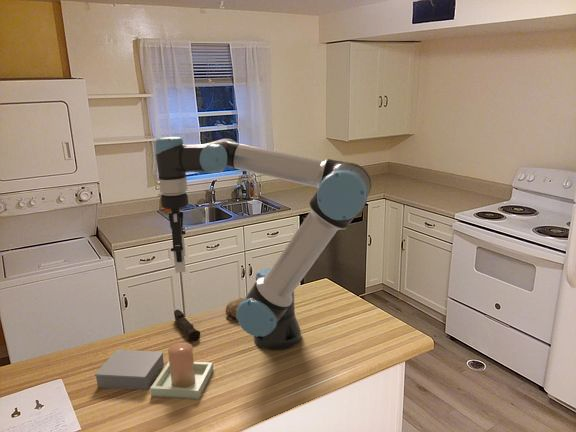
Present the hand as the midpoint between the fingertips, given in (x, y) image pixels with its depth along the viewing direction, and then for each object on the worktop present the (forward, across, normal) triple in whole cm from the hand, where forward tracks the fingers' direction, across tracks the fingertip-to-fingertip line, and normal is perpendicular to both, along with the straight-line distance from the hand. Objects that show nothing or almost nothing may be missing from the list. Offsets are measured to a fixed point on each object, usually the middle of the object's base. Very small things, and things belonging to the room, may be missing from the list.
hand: (180, 263), depth 135 cm
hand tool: (+29, -14, -2) cm, 32 cm away
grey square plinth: (+29, +9, -16) cm, 34 cm away
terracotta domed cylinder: (+28, +16, -2) cm, 33 cm away
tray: (+29, +16, -2) cm, 33 cm away
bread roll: (+29, -20, +18) cm, 40 cm away
